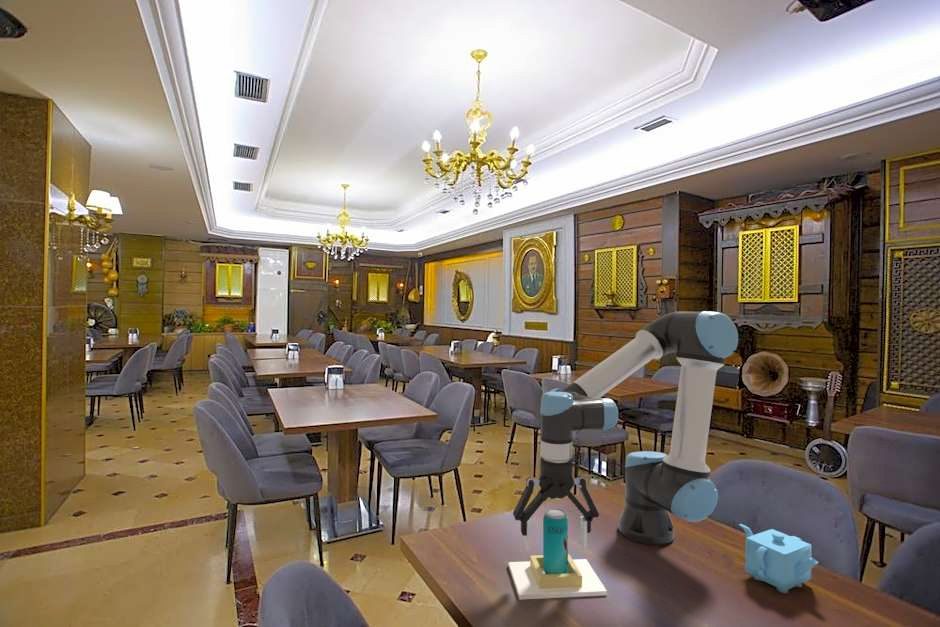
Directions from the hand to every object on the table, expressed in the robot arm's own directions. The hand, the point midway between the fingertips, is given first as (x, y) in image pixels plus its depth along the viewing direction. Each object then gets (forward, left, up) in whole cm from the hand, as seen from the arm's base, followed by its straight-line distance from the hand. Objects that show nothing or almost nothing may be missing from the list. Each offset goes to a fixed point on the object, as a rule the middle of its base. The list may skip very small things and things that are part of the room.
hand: (555, 547), depth 114 cm
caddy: (0, 0, -8) cm, 8 cm away
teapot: (-53, +4, -8) cm, 54 cm away
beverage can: (0, 0, -7) cm, 7 cm away
